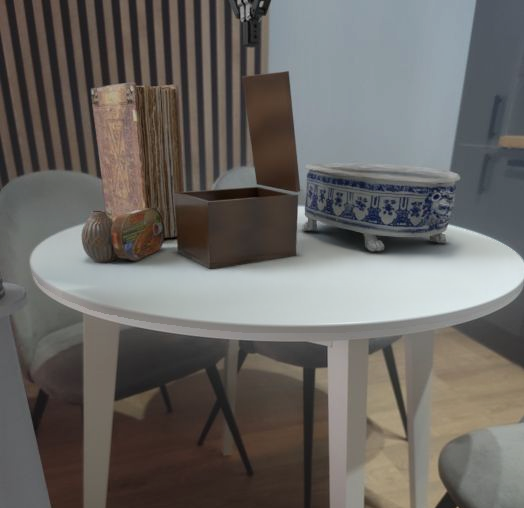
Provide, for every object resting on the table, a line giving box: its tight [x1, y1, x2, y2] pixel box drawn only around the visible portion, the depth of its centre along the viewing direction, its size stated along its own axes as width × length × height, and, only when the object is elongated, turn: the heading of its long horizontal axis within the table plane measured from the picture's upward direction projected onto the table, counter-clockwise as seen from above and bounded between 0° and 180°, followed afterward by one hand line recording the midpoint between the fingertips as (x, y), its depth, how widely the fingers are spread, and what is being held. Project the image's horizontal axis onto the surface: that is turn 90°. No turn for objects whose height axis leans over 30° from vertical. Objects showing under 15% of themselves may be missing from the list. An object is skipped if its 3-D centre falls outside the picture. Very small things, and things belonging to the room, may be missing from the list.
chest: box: [174, 186, 299, 270], centre depth 95 cm, size 19×14×11 cm
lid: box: [241, 70, 301, 193], centre depth 92 cm, size 20×14×1 cm
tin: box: [111, 208, 165, 262], centre depth 94 cm, size 15×3×8 cm, turn 161°
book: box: [90, 81, 185, 239], centre depth 110 cm, size 25×9×30 cm, turn 35°
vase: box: [81, 209, 118, 263], centre depth 91 cm, size 7×7×9 cm
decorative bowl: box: [302, 162, 461, 252], centre depth 109 cm, size 42×27×15 cm, turn 32°
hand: (251, 47), depth 88 cm, fingers closed
